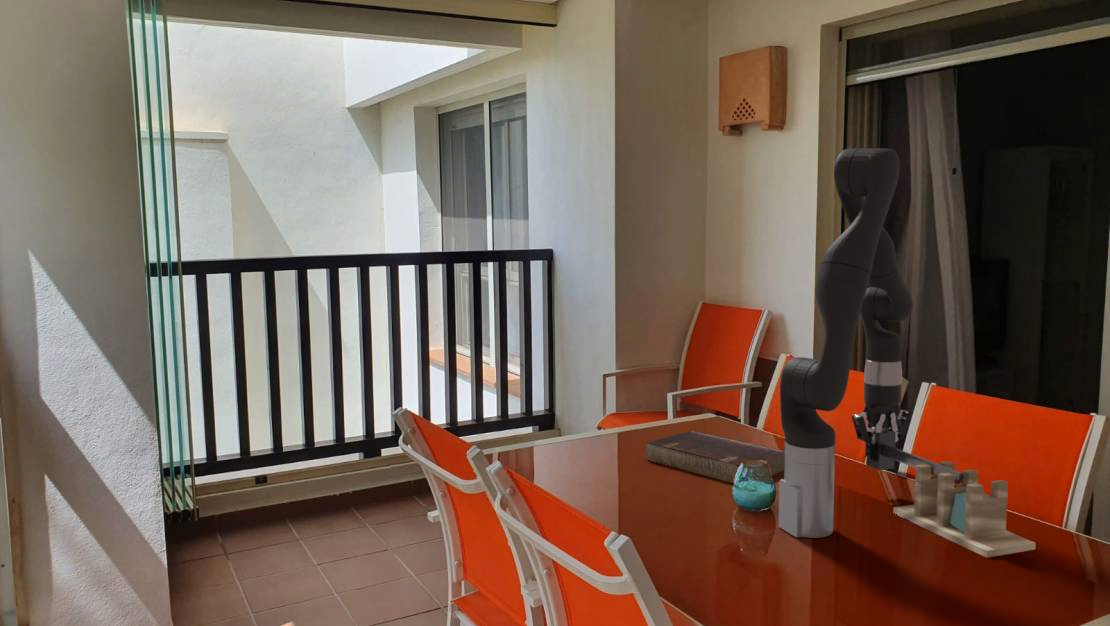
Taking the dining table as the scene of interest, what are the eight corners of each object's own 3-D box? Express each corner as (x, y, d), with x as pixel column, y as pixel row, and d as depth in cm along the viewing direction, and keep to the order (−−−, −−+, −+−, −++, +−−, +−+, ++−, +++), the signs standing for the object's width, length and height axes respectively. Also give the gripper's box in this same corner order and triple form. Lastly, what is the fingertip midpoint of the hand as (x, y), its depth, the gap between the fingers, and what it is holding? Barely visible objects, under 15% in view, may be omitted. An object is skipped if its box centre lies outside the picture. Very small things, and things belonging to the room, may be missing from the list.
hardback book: (789, 470, 204) (790, 450, 203) (743, 488, 191) (744, 466, 191) (693, 447, 225) (693, 429, 224) (646, 461, 212) (646, 442, 212)
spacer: (949, 523, 161) (955, 494, 160) (974, 519, 163) (980, 490, 161) (963, 533, 158) (970, 503, 156) (988, 529, 160) (995, 500, 158)
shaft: (866, 465, 185) (867, 429, 184) (881, 463, 186) (882, 427, 186) (948, 499, 163) (950, 458, 162) (965, 497, 164) (967, 456, 163)
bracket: (893, 513, 173) (895, 460, 171) (937, 507, 176) (939, 455, 175) (986, 557, 150) (989, 497, 149) (1035, 549, 153) (1038, 490, 152)
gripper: (866, 386, 176) (864, 467, 178) (922, 381, 181) (920, 460, 182) (843, 380, 183) (841, 457, 185) (898, 375, 188) (896, 451, 189)
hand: (880, 458), depth 184 cm, fingers closed on shaft, 4 cm apart
